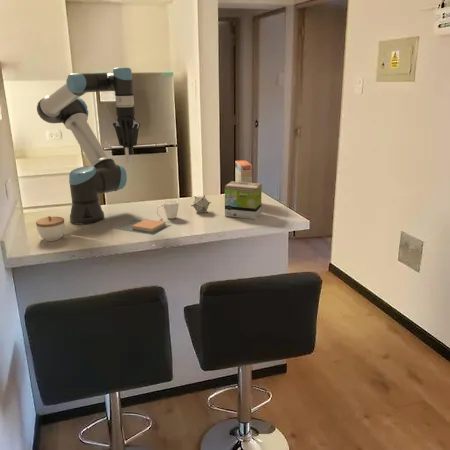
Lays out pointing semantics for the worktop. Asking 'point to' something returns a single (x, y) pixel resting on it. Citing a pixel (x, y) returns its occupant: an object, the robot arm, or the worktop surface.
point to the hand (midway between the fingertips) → (129, 162)
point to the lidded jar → (50, 228)
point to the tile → (148, 226)
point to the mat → (129, 228)
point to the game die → (200, 204)
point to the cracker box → (243, 171)
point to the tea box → (243, 199)
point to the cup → (170, 209)
